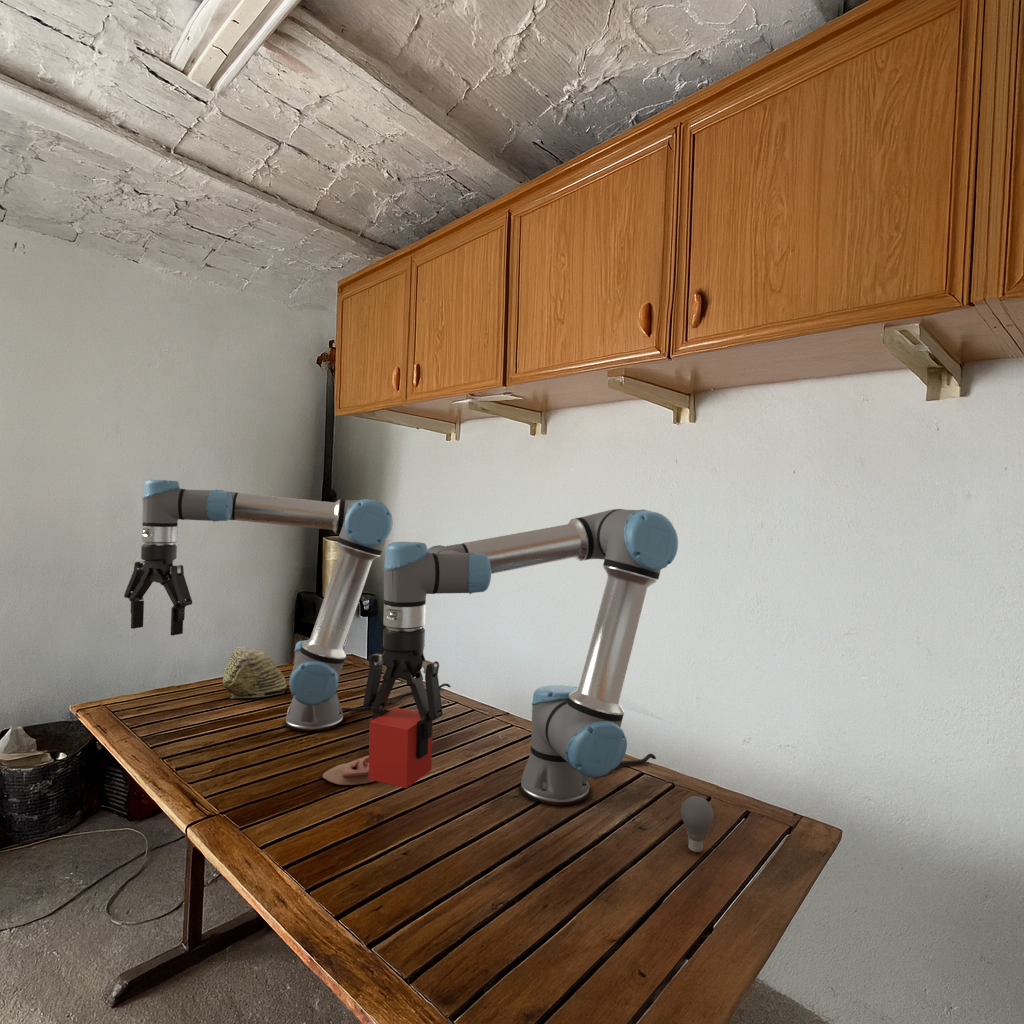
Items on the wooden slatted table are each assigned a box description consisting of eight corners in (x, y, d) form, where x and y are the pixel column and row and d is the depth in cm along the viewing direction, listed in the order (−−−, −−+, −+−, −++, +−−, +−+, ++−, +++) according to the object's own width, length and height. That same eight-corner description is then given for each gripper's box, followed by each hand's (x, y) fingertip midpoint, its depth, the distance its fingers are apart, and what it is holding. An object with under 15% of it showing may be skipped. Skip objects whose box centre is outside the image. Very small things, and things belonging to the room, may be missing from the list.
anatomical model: (316, 763, 140) (340, 744, 151) (315, 781, 140) (339, 761, 151) (372, 771, 137) (392, 751, 149) (371, 789, 138) (391, 768, 149)
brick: (368, 779, 113) (369, 721, 113) (395, 761, 121) (396, 707, 121) (406, 788, 110) (408, 729, 110) (431, 770, 118) (432, 714, 118)
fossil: (218, 695, 195) (220, 647, 195) (278, 685, 208) (279, 640, 207) (228, 703, 189) (230, 653, 188) (289, 692, 201) (290, 645, 201)
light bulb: (674, 841, 122) (676, 790, 121) (704, 841, 122) (707, 790, 122) (685, 859, 116) (688, 805, 115) (717, 859, 116) (719, 805, 116)
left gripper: (109, 540, 154) (106, 627, 155) (183, 548, 145) (180, 640, 145) (137, 539, 161) (135, 622, 162) (210, 546, 152) (207, 634, 152)
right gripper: (344, 624, 116) (341, 747, 116) (444, 637, 107) (440, 770, 108) (369, 617, 123) (366, 734, 123) (465, 629, 114) (461, 754, 115)
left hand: (156, 631), depth 153 cm, fingers open, 13 cm apart
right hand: (401, 750), depth 115 cm, fingers closed on brick, 8 cm apart
